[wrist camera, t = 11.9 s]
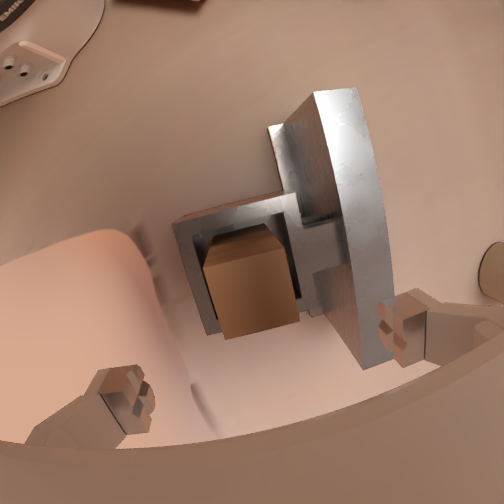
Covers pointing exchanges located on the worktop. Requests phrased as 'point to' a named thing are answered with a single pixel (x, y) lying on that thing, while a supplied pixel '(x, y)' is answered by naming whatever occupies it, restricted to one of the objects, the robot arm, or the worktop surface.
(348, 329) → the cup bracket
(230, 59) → the worktop surface
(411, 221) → the worktop surface
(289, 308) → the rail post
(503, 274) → the travel mug
